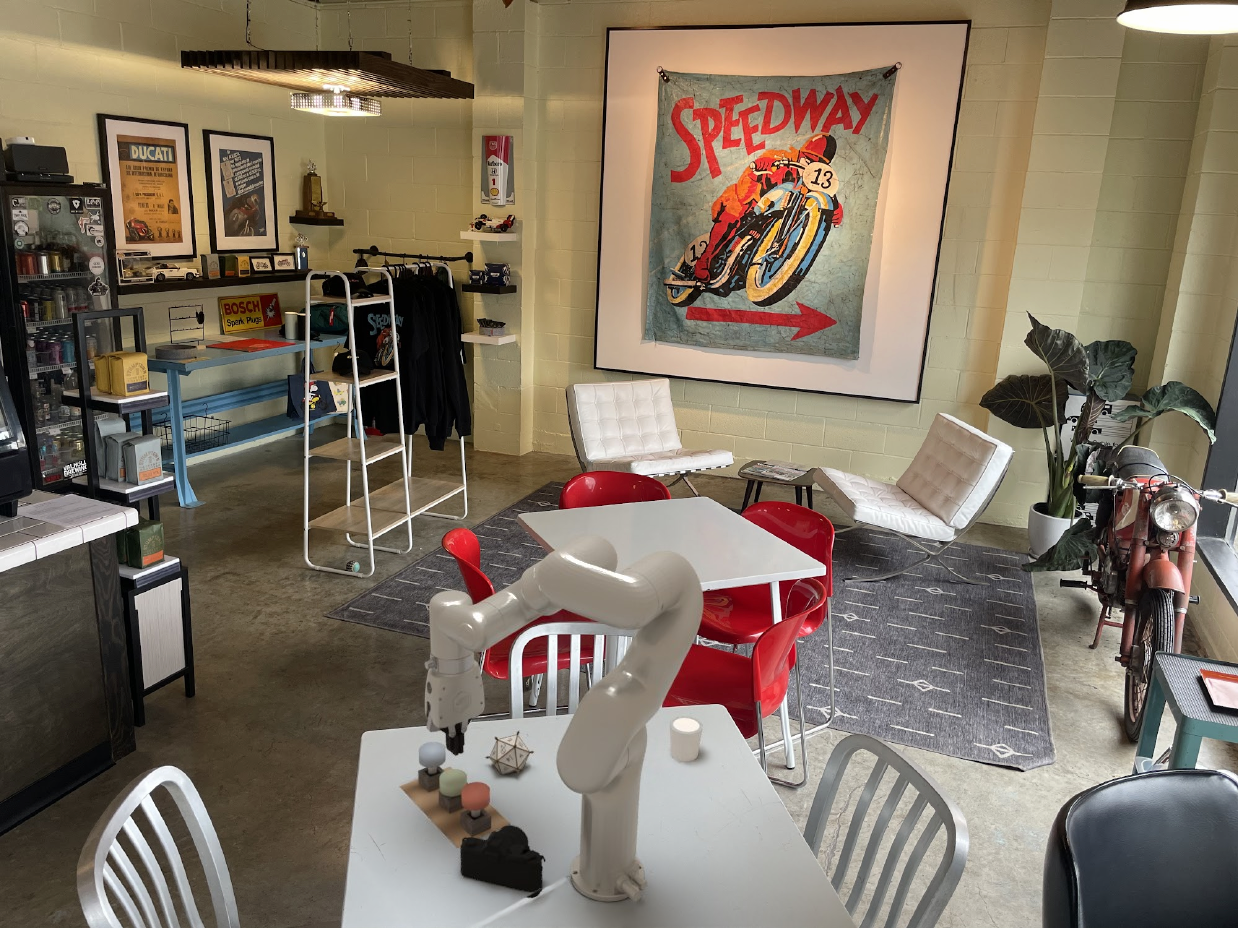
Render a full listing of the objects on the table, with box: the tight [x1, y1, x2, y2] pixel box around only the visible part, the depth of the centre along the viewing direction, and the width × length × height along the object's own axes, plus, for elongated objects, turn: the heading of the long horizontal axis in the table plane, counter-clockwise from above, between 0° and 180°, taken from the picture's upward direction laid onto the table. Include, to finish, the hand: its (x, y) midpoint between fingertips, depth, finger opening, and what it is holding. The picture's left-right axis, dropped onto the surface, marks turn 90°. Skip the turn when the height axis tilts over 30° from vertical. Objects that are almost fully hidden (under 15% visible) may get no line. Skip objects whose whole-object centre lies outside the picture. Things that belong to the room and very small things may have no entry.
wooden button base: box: [399, 765, 511, 849], centre depth 174 cm, size 22×11×4 cm, turn 39°
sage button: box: [440, 768, 468, 798], centre depth 173 cm, size 5×5×5 cm
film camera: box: [459, 824, 546, 899], centre depth 157 cm, size 15×10×9 cm, turn 74°
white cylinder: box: [669, 715, 704, 763], centre depth 194 cm, size 7×7×7 cm
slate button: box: [418, 741, 447, 774], centre depth 178 cm, size 5×5×5 cm
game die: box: [484, 730, 535, 775], centre depth 185 cm, size 9×8×10 cm
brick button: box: [462, 781, 491, 817], centre depth 167 cm, size 5×5×5 cm
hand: (455, 750), depth 170 cm, fingers closed
